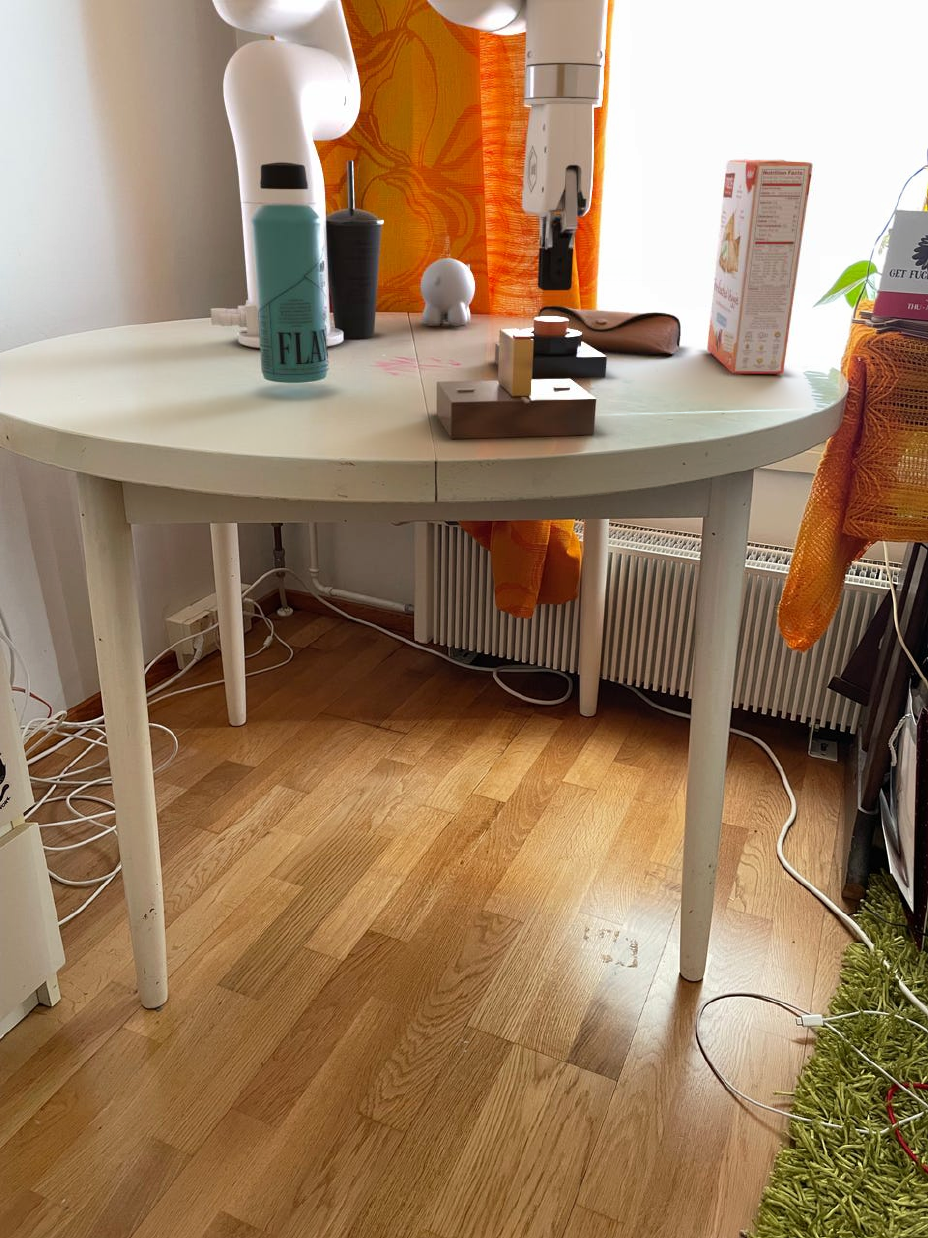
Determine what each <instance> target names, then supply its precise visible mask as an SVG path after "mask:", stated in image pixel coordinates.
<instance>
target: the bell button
mask: <svg viewBox="0 0 928 1238" xmlns="http://www.w3.org/2000/svg"><path fill="white" fill-rule="evenodd" d="M533 328H534V330H533V334H538V335H549V336H554V335H567V332H568V319H566V318H562V317H538V316H537V317H534V319H533Z"/></svg>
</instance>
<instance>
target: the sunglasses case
mask: <svg viewBox="0 0 928 1238" xmlns="http://www.w3.org/2000/svg"><path fill="white" fill-rule="evenodd" d="M537 317H562V318H566V319H568V329H571V330H577V331H579V332H581V333H582V342H584V343H585V344H587V345H589V346H590V347H592V348H594V349H595V350H597V351H598V352H600V353H607V354H619V355H655V354H657V355H659V354H667V355H669V354H670V355H675V354H676V353H677V351H678V350H680V347H681V346H680V342H681V336H682V335H681V334H682V333H681V321H680V319H679V318H678V317H677V316H675V315H673V314H670V313H665V312H644V313H643V312H642V313H640V312H628V311H615V310H613V311H612V310H601V309H600V310H598V309H580V308H572V307H571V308H570V307H567V306H562V305H546V306H543V307H541V308H540V309H539V312H538V314H537Z"/></svg>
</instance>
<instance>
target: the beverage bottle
mask: <svg viewBox="0 0 928 1238" xmlns="http://www.w3.org/2000/svg"><path fill="white" fill-rule="evenodd" d="M260 187H261V189H308V183H307V179H306V170H305V166H304V165H299V164H294V163H286V162H278V163H270V164H264V165H261V181H260ZM251 224H252V230H253V244H254V257H255V271H256V284H257V297H258V324H259V338H260V348H259V350H260V352H259V353H260V366H261V373H262V377H263V379H264V380H266V381H269V382H275V383H282V384H283V383H285V384H301V383H310V382H318V381H321V380H324V379H326V377H327V375H328V370H329V369H330V366H329V364H330V363H329V360H328V359H329V352H328V351H329V350H328V348H329V346H327V344H326V336H327V328H326V325H325V319H326V318H327V316H326V314H325V313H326V312H325V308H326V307H325V308H324V295H325V294H324V286H325V285H323V284H325V282H324V278H325V273H324V278H323V270H325V269H324V262H323V261H322V255H323V253H322V250H324V248H322V244H321V228H320V225H321V218H320V217H319V215H318V214H317V213H316V212H315V211H314V210H313V209H312V208H311V207H310V206H307V205H287V204H277V205H262V206H261V207H260V208H259V209H258V210H257V211H256V212H255V214H254V215H253V216H252V218H251ZM323 282H324V283H323ZM325 299H326V298H325ZM325 316H326V318H325ZM327 338H328V337H327ZM327 340H328V339H327ZM327 343H328V341H327Z"/></svg>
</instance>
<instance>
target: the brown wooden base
mask: <svg viewBox="0 0 928 1238" xmlns="http://www.w3.org/2000/svg"><path fill="white" fill-rule="evenodd" d="M596 410H597V398H596V397H594V395H592V394H590V393H589V392H588V391H586V390H585V389H584V388H583V387H581V386H580V385H579V384H577V382H575V381H573V379H572V378H552V379H532V388H531V396H512V395H511V394H510V393H509V392H508V391H506V390H505V389H504V388H503V387H502V386H501V385H500V384H499V383H498V379H496V380H456V381H455V380H453V381H449V380H447V381H437V382H436V417H437V418H438V421H439V422H440V423H441V425H442V427H443V428H444V430H445V432H446V433H447V436H449V438H450V439H451V440H467V439H468V440H469V439H494V438H495V439H498V438H501V439H502V438H526V437H527V438H533V437H563V436H566V437H568V436H569V437H570V436H594V435H595V426H596V425H595V423H596Z"/></svg>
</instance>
